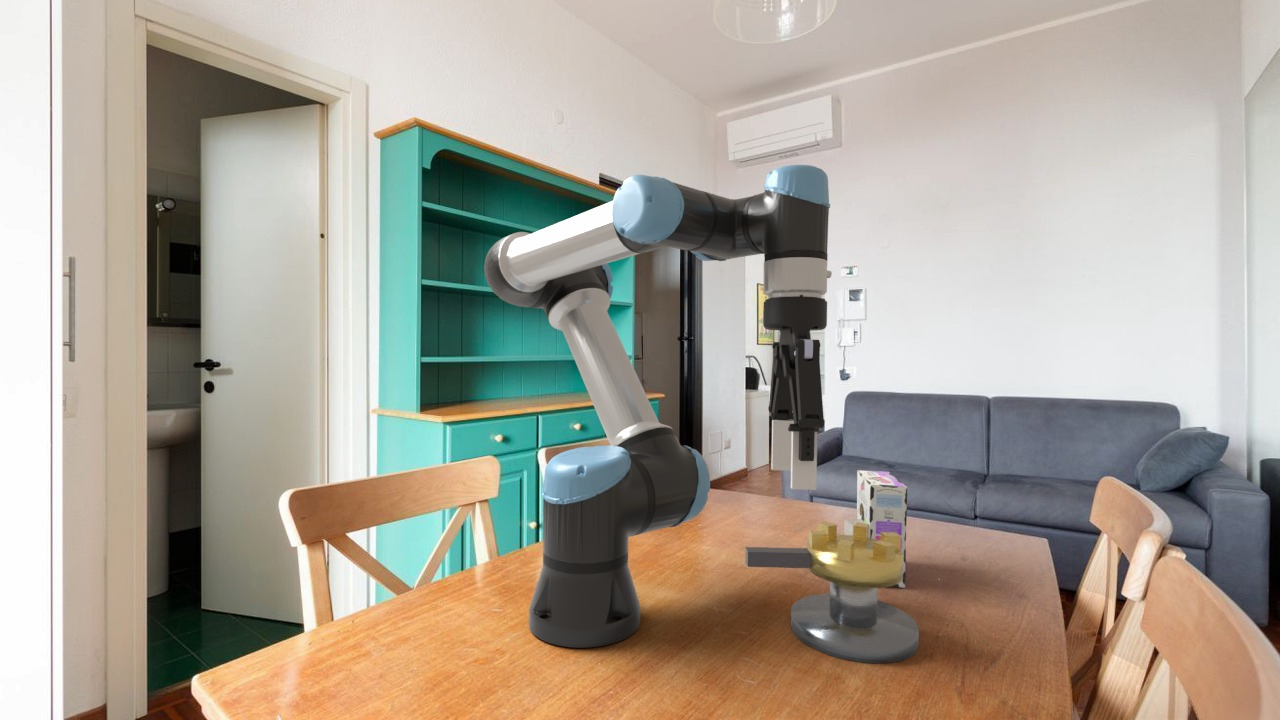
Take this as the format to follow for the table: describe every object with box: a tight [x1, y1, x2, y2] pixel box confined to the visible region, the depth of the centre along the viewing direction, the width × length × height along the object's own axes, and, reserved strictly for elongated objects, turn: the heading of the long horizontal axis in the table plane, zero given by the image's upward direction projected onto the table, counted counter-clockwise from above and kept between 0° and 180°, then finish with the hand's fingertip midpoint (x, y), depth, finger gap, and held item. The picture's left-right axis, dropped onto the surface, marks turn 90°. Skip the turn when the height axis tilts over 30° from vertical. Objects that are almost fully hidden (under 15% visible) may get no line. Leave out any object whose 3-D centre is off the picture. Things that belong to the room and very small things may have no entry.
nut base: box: [790, 518, 920, 664], centre depth 81 cm, size 16×20×12 cm
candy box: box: [856, 470, 908, 589], centre depth 102 cm, size 14×6×16 cm, turn 168°
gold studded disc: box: [744, 521, 903, 589], centre depth 80 cm, size 20×12×5 cm, turn 88°
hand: (791, 478), depth 73 cm, fingers open, 10 cm apart
